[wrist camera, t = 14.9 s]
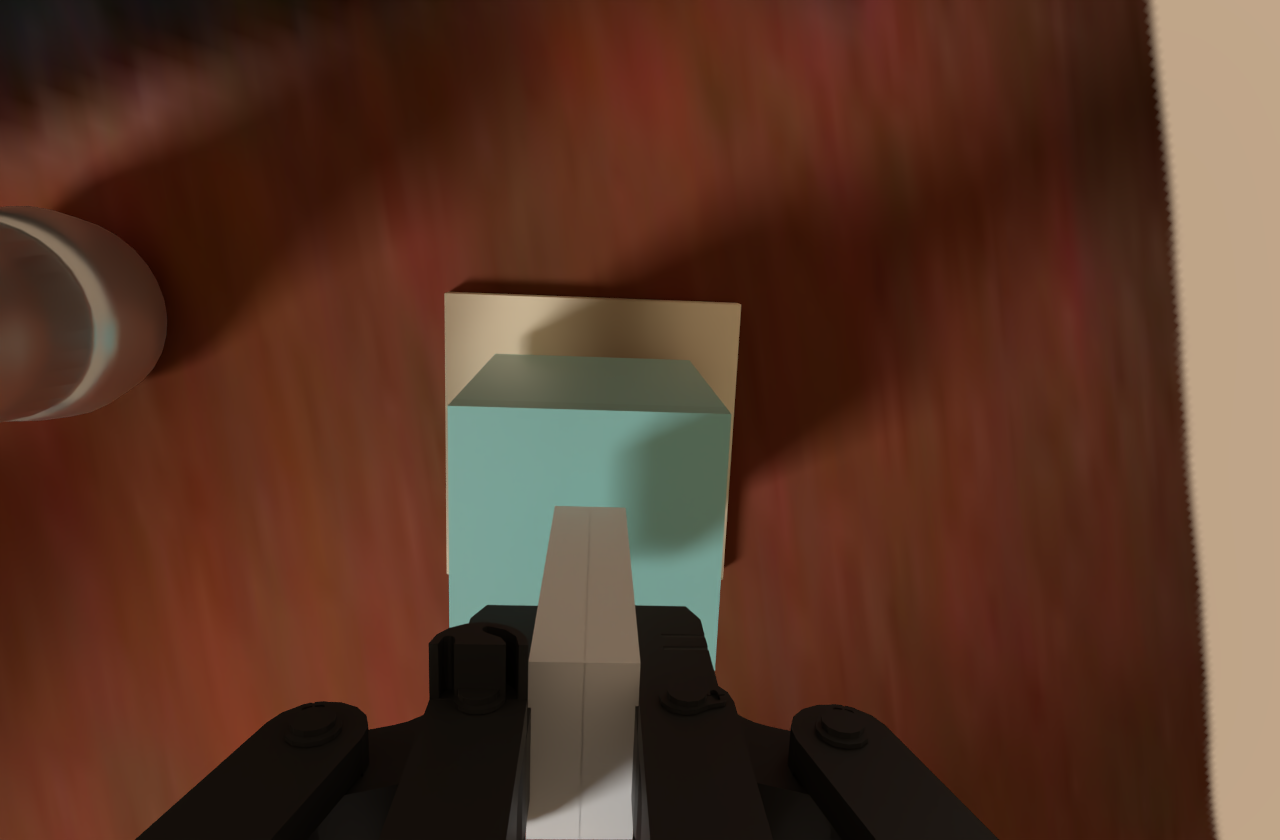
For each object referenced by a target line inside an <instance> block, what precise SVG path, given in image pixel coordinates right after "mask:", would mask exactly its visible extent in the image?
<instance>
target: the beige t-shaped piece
mask: <svg viewBox="0 0 1280 840" xmlns="http://www.w3.org/2000/svg"><path fill="white" fill-rule="evenodd" d="M740 316H741V304H739V303H726V302H701V301H675V300H649V299H623V298H597V297H571V296H545V295H520V294H494V293H468V292H447V293H445V406H446V529H447V574H449V521H448V409H447V406H448V405H449V404H450V403H451V401H452V400H453V399H454V398H455V397H456V396H457V395H458V394H459V393H460V392H461V391H462V389H463V388H464V387H465V386H466V385H467V384H468V383H469V382H470V381H471V380H472V379H473V377H474V376H475V375H476V374H477V373H478V372H479V371H480V370H481V369H482V368H483V367H484V366H485V364H486V363H487V362H488V361H489V360H490V359H491V358H492V357H493V356H494V355H495V354H520V355H550V356H580V357H610V358H640V359H671V360H690V362H691V363H692V364H693V365H694V367H695V368H696V369H697V371H698V372H699V373H700V374H701V376H702V377H703V378H704V380H705V381H706V382H707V383H708V385H709V386H710V387H711V388H712V390H713V391H714V392H715V394H716V395H717V396H718V397H719V399H720V400H721V401H722V403H723V404H724V405H725V406H726V408H727V409H728V410H729V412H730V413H731V430H730V445H729V460H728V476H727V491H726V507H725V522H724V537H723V553H722V568H721V579H723V570H724V555H725V540H726V525H727V511H728V496H729V481H730V466H731V451H732V436H733V421H734V406H735V391H736V376H737V361H738V346H739V331H740Z"/></svg>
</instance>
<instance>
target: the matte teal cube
mask: <svg viewBox="0 0 1280 840" xmlns="http://www.w3.org/2000/svg"><path fill="white" fill-rule="evenodd" d="M447 409H448V521H449V628H451V627H455V626H459V625H462V624H466V623H469V621H470V618H471V617H472V616H474V615H475V614H476V613H477V612H479V611H480V610H481V609H482V608H484V607H485V606H486V605H525V606H538V602H539V597H540V591H541V585H542V579H543V573H544V567H545V561H546V555H547V549H548V543H549V537H550V531H551V526H552V520H553V514H554V508H555V506H579V507H619V508H626V517H627V528H628V538H629V549H630V559H631V570H632V580H633V590H634V601H635V605H645V606H686V607H687V608H688V609H689V610H690V611H692V612H693V613H694V614H695V615H696V616H697V617H698V618H699V619H701V623H702V627H703V631H704V634H705V638H706V642H707V646H708V650H709V653H710V657H711V661H712V665H713V668H714V671H715V661H716V645H717V630H718V614H719V599H720V584H721V568H722V553H723V537H724V522H725V507H726V491H727V476H728V460H729V445H730V430H731V413H730V412H729V410H728V409H727V408H726V406H725V405H724V404H723V403H722V401H721V400H720V399H719V397H718V396H717V395H716V394H715V392H714V391H713V390H712V388H711V387H710V386H709V385H708V383H707V382H706V381H705V380H704V378H703V377H702V376H701V374H700V373H699V372H698V371H697V369H696V368H695V367H694V365H693V364H692V363H691V362H690V360H671V359H640V358H610V357H580V356H550V355H520V354H495V355H494V356H493V357H492V358H491V359H490V360H489V361H488V362H487V363H486V364H485V366H484V367H483V368H482V369H481V370H480V371H479V372H478V373H477V374H476V375H475V376H474V377H473V379H472V380H471V381H470V382H469V383H468V384H467V385H466V386H465V387H464V388H463V389H462V391H461V392H460V393H459V394H458V395H457V396H456V397H455V398H454V399H453V400H452V401H451V403H450V404H449V405H448V406H447Z"/></svg>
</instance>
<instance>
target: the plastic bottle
mask: <svg viewBox="0 0 1280 840" xmlns="http://www.w3.org/2000/svg"><path fill="white" fill-rule="evenodd" d="M166 336H167V313H166V307H165V301H164V297H163V295H162V292H161V290H160V287H159V284H158V282H157V280H156V278H155V277H154V275H153V273H152V272H151V270H150V268H149V267H148V265H147V264H146V262H145V261H144V260H143V259H142V258H141V257H140V256H139V255H138V253H137V252H136V251H135V250H134V249H133V248H132V247H131V246H129V245H128V244H127V243H126V242H124V241H123V240H122V239H121V238H119V237H118V236H117V235H115V234H113V233H112V232H110V231H108V230H106V229H104V228H103V227H101V226H99V225H97V224H94V223H91V222H88V221H85V220H82V219H80V218H76V217H73V216H70V215H67V214H64V213H61V212H57V211H54V210H50V209H44V208H38V207H32V206H6V207H0V422H5V421H42V420H49V419H57V418H65V417H72V416H76V415H81V414H85V413H90V412H93V411H95V410H97V409H99V408H102V407H104V406H106V405H108V404H110V403H112V402H113V401H115V400H116V399H117V398H119V397H120V396H122V395H123V394H125V393H126V392H128V391H129V390H131V389H132V388H133V387H135V386H136V385H138V384H139V383H140V382H142V381H143V380H144V379H145V377H146V376H147V375H148V374H149V373H150V372H151V371H152V369H153V368H154V367H155V365H156V363H157V361H158V359H159V357H160V355H161V354H162V351H163V347H164V343H165V340H166Z"/></svg>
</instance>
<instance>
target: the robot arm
mask: <svg viewBox="0 0 1280 840" xmlns="http://www.w3.org/2000/svg"><path fill="white" fill-rule="evenodd" d="M429 693H430V700H429V702H428V705H427V708H426V711H425V713H424V715H422V716H420V717H418V718H415V719H413V720H410V721H408V722H404V723H400V724H396V725H392V726H387V727H381V728H376V729H370V730H368V722H367V716H366V715H365V714H364V713H363V712H362V711H361V710H360V709H359V708H357V707H355V706H352V705H348V704H345V703H342V702H325V701H323V702H315V703H308V704H303V705H300V706H298V707H296V708H293V709H290V710H288V711H285V712H282V713H281V714H279V715H278V716H276V717H275V718H273V719H271V720H270V721H268V722H267V723H266V724H265V725H263V726H262V727H261V728H260V729H259V730H258V731H257V732H256V733H254V734H253V735H252V736H251V737H250V738H249V739H248V740H247V741H245V742H244V743H243V744H242V745H241V746H240V747H239V748H238V749H236V750H235V751H234V752H233V753H232V754H231V755H230V756H229V757H227V758H226V759H225V760H224V761H223V762H222V763H221V764H220V765H218V766H217V767H216V768H215V769H214V770H213V771H212V772H211V773H209V774H208V775H207V776H206V777H205V778H204V779H203V780H202V781H200V782H199V783H198V784H197V785H196V786H195V787H194V788H193V789H191V790H190V791H189V792H188V793H187V794H186V795H185V796H184V797H182V798H181V799H180V800H179V801H178V802H177V803H176V804H175V805H173V806H172V807H171V808H170V809H169V810H168V811H167V812H166V813H165V814H163V815H162V816H161V817H160V818H159V819H158V820H157V821H156V822H154V823H153V824H152V825H151V826H150V827H149V828H148V829H147V830H145V831H144V832H143V833H142V834H141V835H140V836H139V837H138V838H136V839H135V840H525V833H526V839H632V837H633V840H999V839H998V838H997V837H996V836H995V835H994V834H993V833H992V832H991V831H990V830H989V829H988V828H987V827H986V826H985V825H984V824H983V823H982V822H981V821H980V820H979V819H978V818H977V817H976V816H975V815H974V814H973V813H972V812H971V811H970V810H969V809H968V808H967V807H966V806H965V805H964V804H963V803H962V802H961V801H960V800H959V799H958V798H957V797H956V796H955V795H954V794H953V793H952V792H951V791H950V790H949V789H948V788H947V787H946V786H945V785H944V784H943V783H942V782H941V781H940V780H939V779H938V778H937V777H936V776H935V775H934V774H933V773H932V772H931V771H930V770H929V769H928V768H927V767H926V766H925V765H924V764H923V763H922V762H921V761H920V760H919V759H918V758H917V757H916V756H915V755H914V754H913V753H912V752H911V751H910V750H909V749H908V748H907V747H906V746H905V745H904V744H903V743H902V742H901V741H900V740H899V739H898V738H897V737H896V736H895V735H894V734H893V733H892V732H891V731H890V730H889V729H888V728H887V727H886V726H885V725H884V724H883V723H881V722H880V721H878V720H877V719H876V718H874V717H873V716H871V715H869V714H866V713H864V712H862V711H859V710H857V709H855V708H852V707H848V706H845V707H844V706H842V705H836V704H832V705H816V706H812V707H809V708H805V709H802V710H801V711H800V712H799V713H797V714H796V715H795V716H794V717H793V720H792V725H791V731H788V730H783V729H778V728H773V727H769V726H765V725H761V724H758V723H754V722H752V721H750V720H748V719H745V718H743V717H741V716H740V715H738V714H737V711H736V707H735V704H734V701H733V700H732V698H731V697H730V695H729V694H728V692H726V691H725V690H723V689H722V688H721V687H719V686H718V684H717V680H716V676H715V672H714V668H713V665H712V661H711V657H710V653H709V650H708V646H707V642H706V638H705V634H704V631H703V627H702V623H701V619H699V618H698V617H697V616H696V615H695V614H694V613H693V612H692V611H690V610H689V609H688V608H687V607H686V606H645V605H635V601H634V590H633V580H632V570H631V559H630V549H629V538H628V528H627V517H626V508H619V507H579V506H555V508H554V514H553V520H552V526H551V531H550V537H549V543H548V549H547V555H546V561H545V567H544V573H543V579H542V585H541V591H540V597H539V602H538V606H525V605H486V606H485V607H484V608H482V609H481V610H480V611H479V612H477V613H476V614H475V615H474V616H472V617H471V618H470V621H469V623H466V624H462V625H459V626H455V627H451V628H448V629H446V630H445V631H443V632H441V633H439V634H437V635H436V636H435V637H434V638H433V639H432V641H431V642H430V643H429Z"/></svg>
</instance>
